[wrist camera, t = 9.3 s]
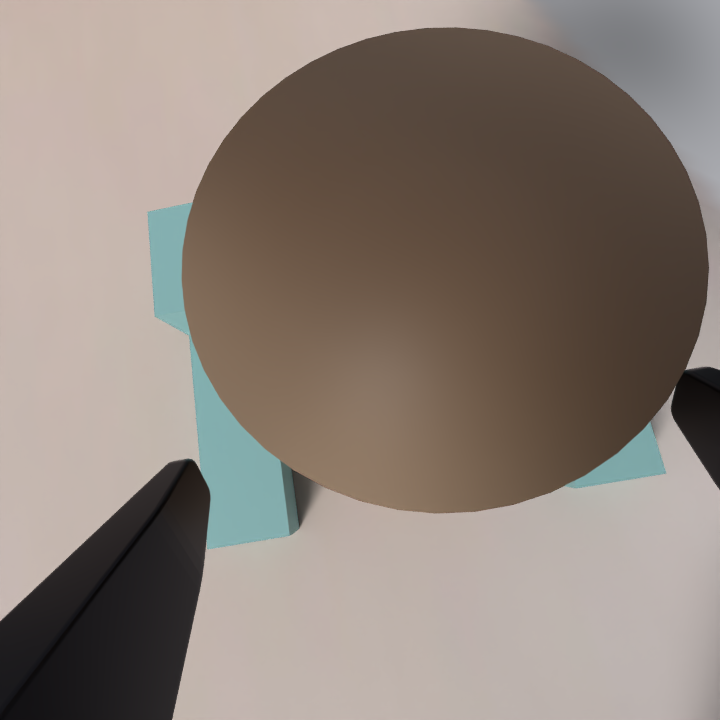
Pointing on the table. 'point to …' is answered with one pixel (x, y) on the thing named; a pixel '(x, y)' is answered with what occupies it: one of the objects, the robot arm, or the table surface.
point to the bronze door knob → (445, 270)
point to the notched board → (247, 457)
